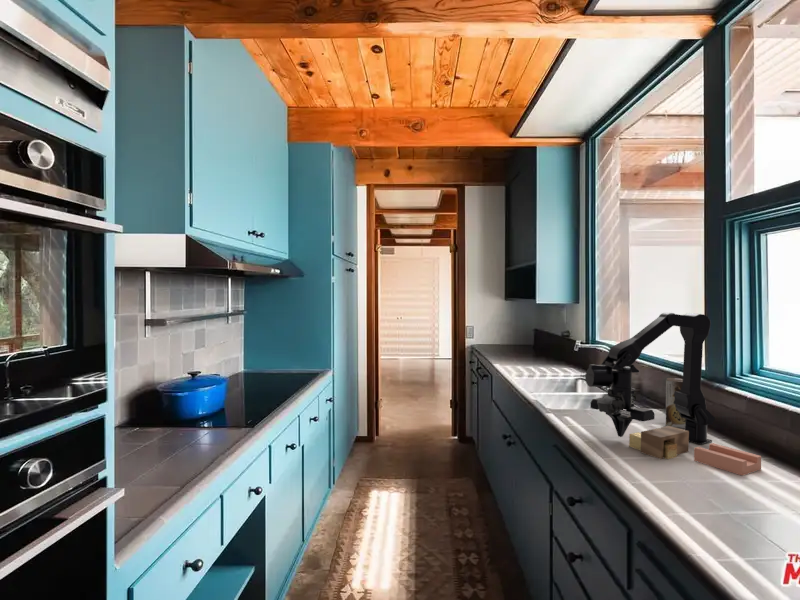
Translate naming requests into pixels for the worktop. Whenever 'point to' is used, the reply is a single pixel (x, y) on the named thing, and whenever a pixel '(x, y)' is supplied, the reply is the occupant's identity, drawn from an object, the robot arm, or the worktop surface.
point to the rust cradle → (728, 459)
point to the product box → (671, 411)
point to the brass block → (668, 448)
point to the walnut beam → (655, 440)
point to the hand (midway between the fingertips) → (620, 436)
